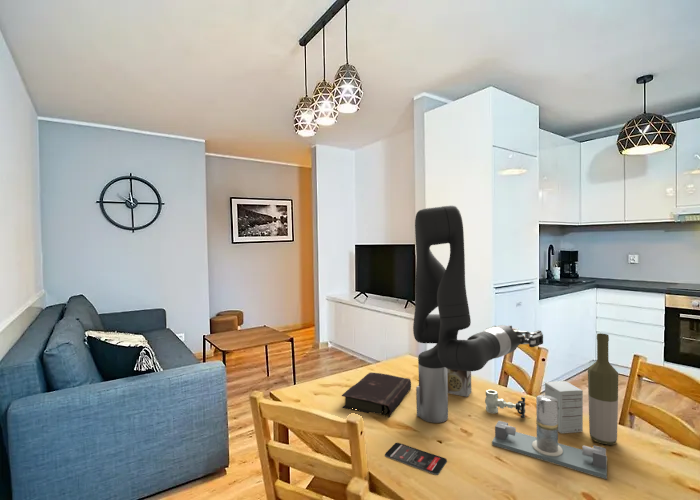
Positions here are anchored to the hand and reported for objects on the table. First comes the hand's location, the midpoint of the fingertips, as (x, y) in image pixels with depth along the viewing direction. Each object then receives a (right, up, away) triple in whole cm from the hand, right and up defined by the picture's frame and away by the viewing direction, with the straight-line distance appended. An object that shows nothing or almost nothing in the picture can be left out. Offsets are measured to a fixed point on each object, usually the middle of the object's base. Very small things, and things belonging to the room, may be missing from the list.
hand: (525, 331), depth 106 cm
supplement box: (+13, -30, +3) cm, 33 cm away
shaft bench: (+1, -30, -10) cm, 32 cm away
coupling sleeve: (+1, -29, -10) cm, 30 cm away
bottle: (+20, -30, -4) cm, 36 cm away
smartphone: (-34, -31, -11) cm, 48 cm away
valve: (-1, -30, +12) cm, 33 cm away
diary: (-41, -31, +26) cm, 58 cm away
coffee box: (-11, -30, +30) cm, 44 cm away
